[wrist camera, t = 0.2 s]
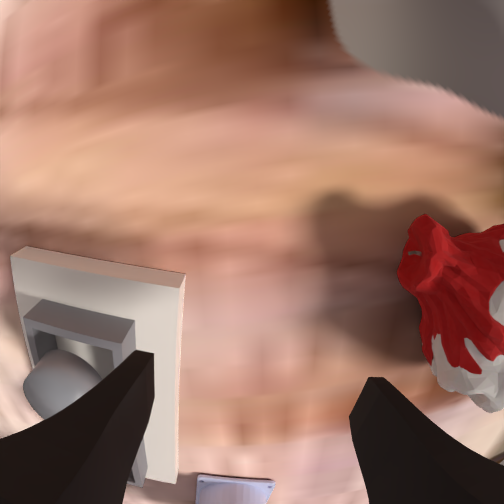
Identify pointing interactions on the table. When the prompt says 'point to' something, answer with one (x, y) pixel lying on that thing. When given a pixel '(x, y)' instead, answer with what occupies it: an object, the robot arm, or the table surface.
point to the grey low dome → (58, 382)
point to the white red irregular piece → (459, 306)
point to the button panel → (109, 332)
